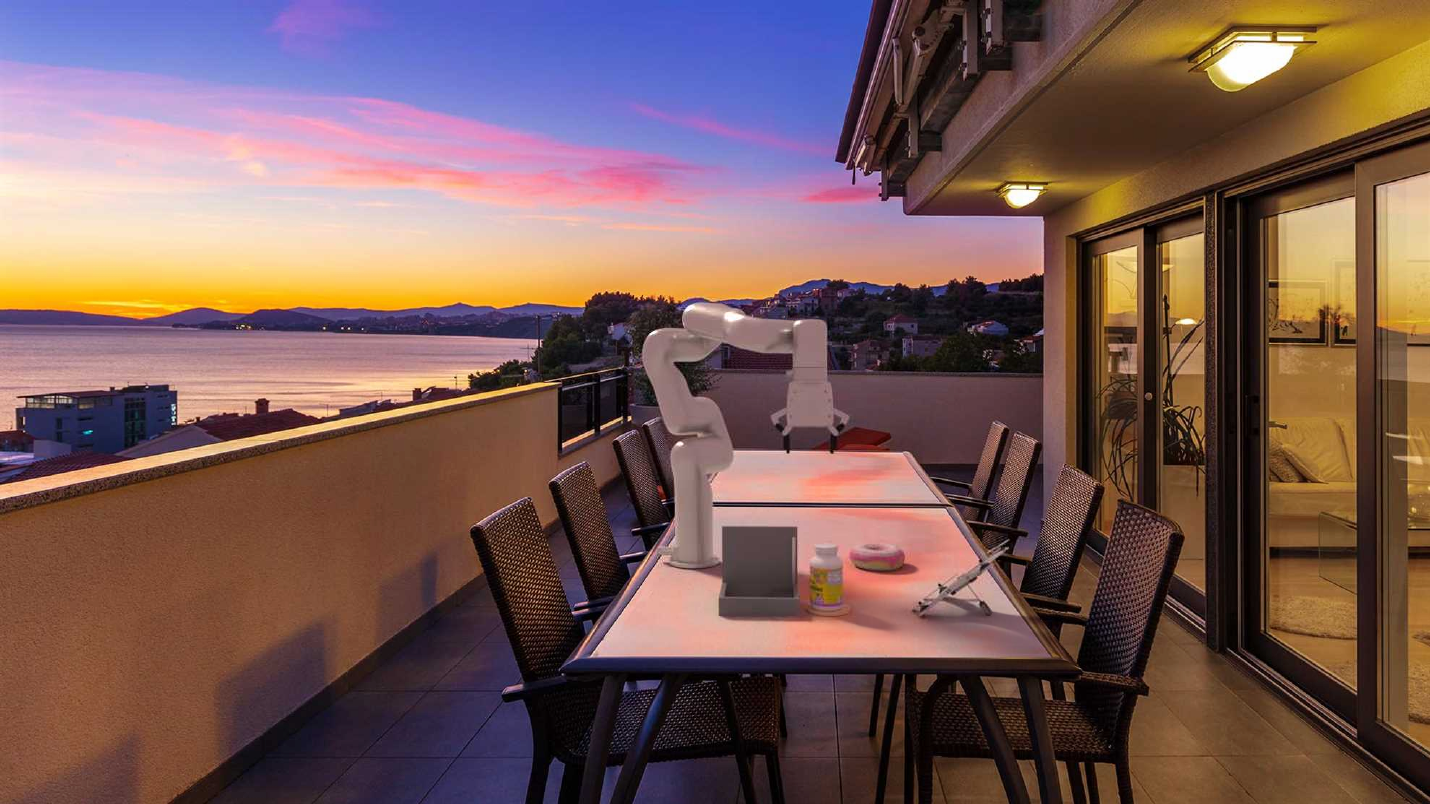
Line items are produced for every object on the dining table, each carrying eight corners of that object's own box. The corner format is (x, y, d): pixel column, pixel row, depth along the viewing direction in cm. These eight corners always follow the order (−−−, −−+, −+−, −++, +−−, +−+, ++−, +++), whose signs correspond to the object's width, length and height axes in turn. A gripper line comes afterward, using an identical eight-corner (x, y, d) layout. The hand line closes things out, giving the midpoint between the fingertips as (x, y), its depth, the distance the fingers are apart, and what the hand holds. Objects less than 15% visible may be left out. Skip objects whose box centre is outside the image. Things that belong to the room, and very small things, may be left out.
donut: (848, 572, 201) (848, 551, 200) (849, 559, 214) (849, 539, 213) (906, 574, 198) (906, 553, 198) (903, 561, 211) (903, 541, 211)
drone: (1045, 570, 171) (1012, 530, 174) (1027, 598, 151) (991, 552, 154) (959, 627, 180) (929, 589, 183) (931, 660, 160) (899, 616, 163)
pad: (806, 616, 165) (806, 614, 165) (804, 603, 174) (804, 601, 174) (852, 616, 165) (852, 614, 165) (848, 603, 174) (848, 601, 174)
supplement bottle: (804, 604, 172) (803, 543, 171) (833, 601, 174) (832, 540, 173) (819, 613, 165) (819, 549, 165) (849, 610, 168) (848, 546, 167)
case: (718, 615, 166) (718, 538, 165) (722, 597, 179) (722, 525, 178) (799, 616, 165) (799, 539, 164) (797, 598, 178) (797, 526, 177)
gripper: (770, 376, 180) (770, 454, 181) (850, 375, 179) (850, 455, 180) (770, 375, 188) (770, 451, 189) (847, 375, 186) (847, 451, 187)
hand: (809, 453), depth 184 cm, fingers open, 9 cm apart
